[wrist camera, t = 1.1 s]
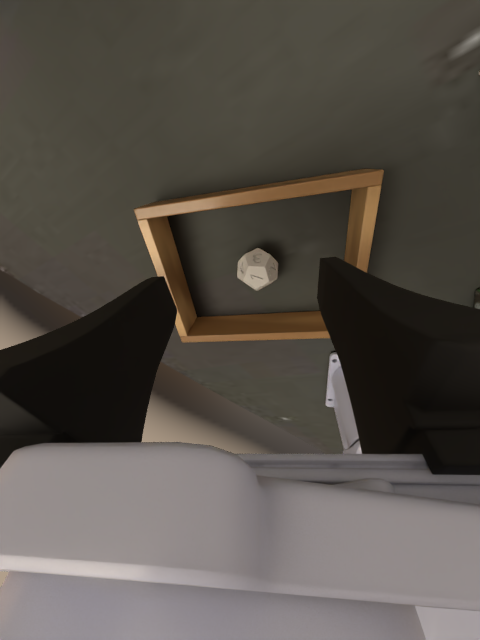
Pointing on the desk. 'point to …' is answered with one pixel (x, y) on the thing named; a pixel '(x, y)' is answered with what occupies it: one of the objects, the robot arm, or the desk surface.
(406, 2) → the desk surface
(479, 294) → the chalk box
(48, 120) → the desk surface
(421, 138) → the desk surface
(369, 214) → the wooden box
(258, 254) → the game die
